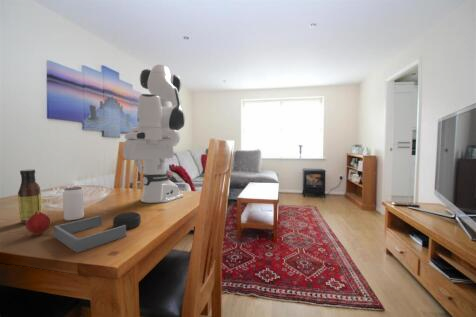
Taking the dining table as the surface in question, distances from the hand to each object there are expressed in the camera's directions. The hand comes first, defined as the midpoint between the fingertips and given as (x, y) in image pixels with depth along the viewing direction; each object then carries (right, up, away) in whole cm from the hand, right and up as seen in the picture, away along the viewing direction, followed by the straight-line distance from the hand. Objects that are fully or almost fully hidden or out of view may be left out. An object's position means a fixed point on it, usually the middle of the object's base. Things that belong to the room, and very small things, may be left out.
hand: (150, 170), depth 87 cm
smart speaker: (-6, -20, -7) cm, 22 cm away
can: (-31, -19, +1) cm, 36 cm away
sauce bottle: (-44, -19, -4) cm, 48 cm away
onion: (-30, -20, -16) cm, 39 cm away
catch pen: (-13, -20, -17) cm, 29 cm away
